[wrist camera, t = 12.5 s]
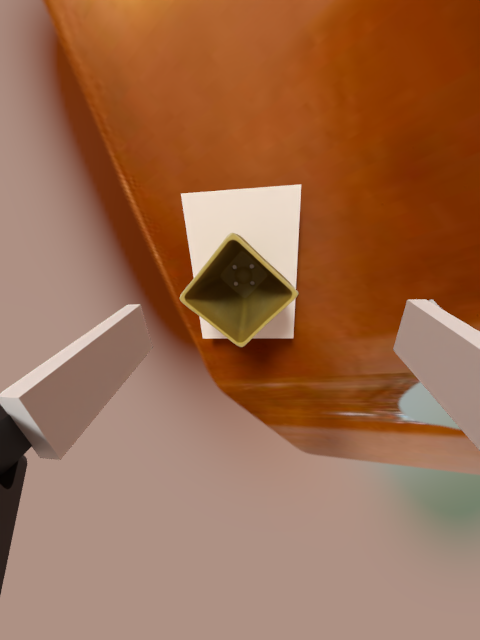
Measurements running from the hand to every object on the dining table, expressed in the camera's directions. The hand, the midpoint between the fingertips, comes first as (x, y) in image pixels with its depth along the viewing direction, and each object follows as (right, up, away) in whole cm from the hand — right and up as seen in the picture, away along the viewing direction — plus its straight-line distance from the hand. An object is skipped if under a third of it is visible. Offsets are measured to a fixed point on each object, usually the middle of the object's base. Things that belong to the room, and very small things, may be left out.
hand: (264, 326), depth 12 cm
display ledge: (0, +8, +22) cm, 24 cm away
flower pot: (-1, +7, +19) cm, 20 cm away
